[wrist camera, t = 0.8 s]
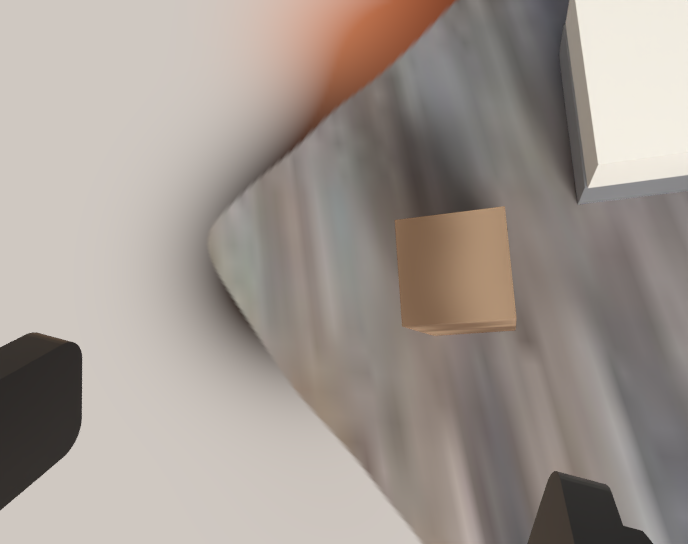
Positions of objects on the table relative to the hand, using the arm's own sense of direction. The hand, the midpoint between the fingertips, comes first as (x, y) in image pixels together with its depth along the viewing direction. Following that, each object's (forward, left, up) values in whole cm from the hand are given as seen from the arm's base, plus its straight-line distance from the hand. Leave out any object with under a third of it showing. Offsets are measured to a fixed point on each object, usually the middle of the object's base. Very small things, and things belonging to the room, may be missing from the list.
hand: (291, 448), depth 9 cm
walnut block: (-1, -5, -27) cm, 28 cm away
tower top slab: (-14, -15, -24) cm, 31 cm away
